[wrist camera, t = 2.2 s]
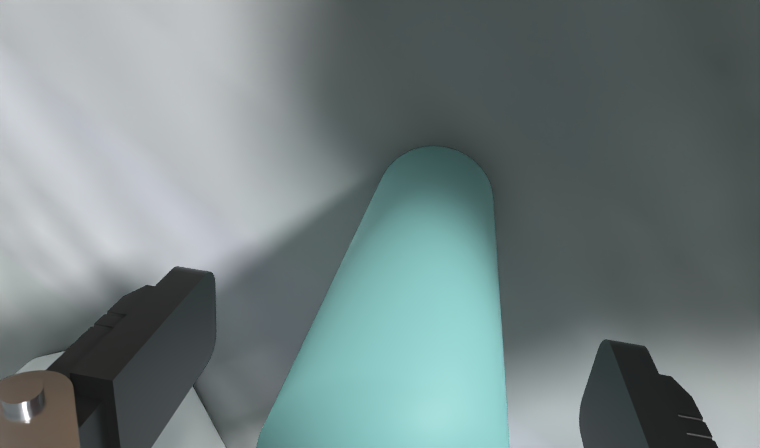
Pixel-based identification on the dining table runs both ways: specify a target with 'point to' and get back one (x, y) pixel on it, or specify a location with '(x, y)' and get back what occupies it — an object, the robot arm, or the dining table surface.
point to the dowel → (406, 323)
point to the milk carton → (184, 430)
